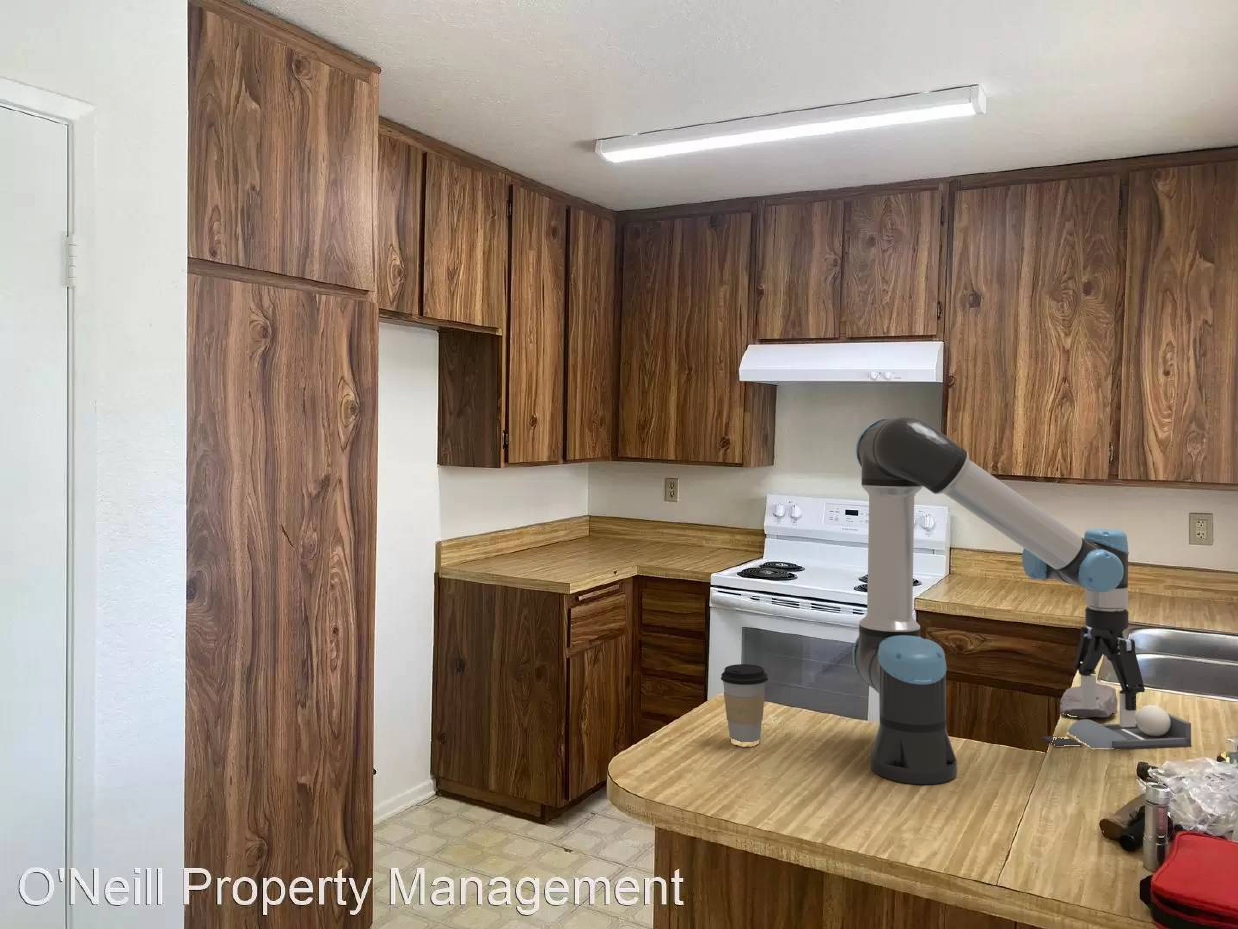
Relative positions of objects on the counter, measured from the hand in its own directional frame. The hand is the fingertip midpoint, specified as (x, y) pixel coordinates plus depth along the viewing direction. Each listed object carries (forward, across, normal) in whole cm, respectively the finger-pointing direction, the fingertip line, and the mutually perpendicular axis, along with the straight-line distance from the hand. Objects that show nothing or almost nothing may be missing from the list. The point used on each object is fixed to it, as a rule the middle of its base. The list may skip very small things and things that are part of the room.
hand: (1107, 716), depth 180 cm
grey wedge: (+10, 0, +2) cm, 10 cm away
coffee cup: (+5, +8, +71) cm, 72 cm away
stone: (+5, +17, -7) cm, 19 cm away
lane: (+5, 0, -6) cm, 7 cm away
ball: (+1, 0, -9) cm, 9 cm away
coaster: (+5, 0, +10) cm, 11 cm away
